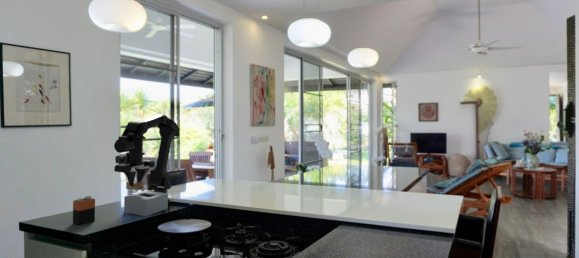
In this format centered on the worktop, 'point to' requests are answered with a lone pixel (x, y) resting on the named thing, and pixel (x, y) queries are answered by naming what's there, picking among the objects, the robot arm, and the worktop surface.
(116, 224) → the worktop surface
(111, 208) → the worktop surface
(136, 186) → the tan wooden block
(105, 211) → the worktop surface
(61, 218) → the worktop surface
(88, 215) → the battery
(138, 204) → the coin box
